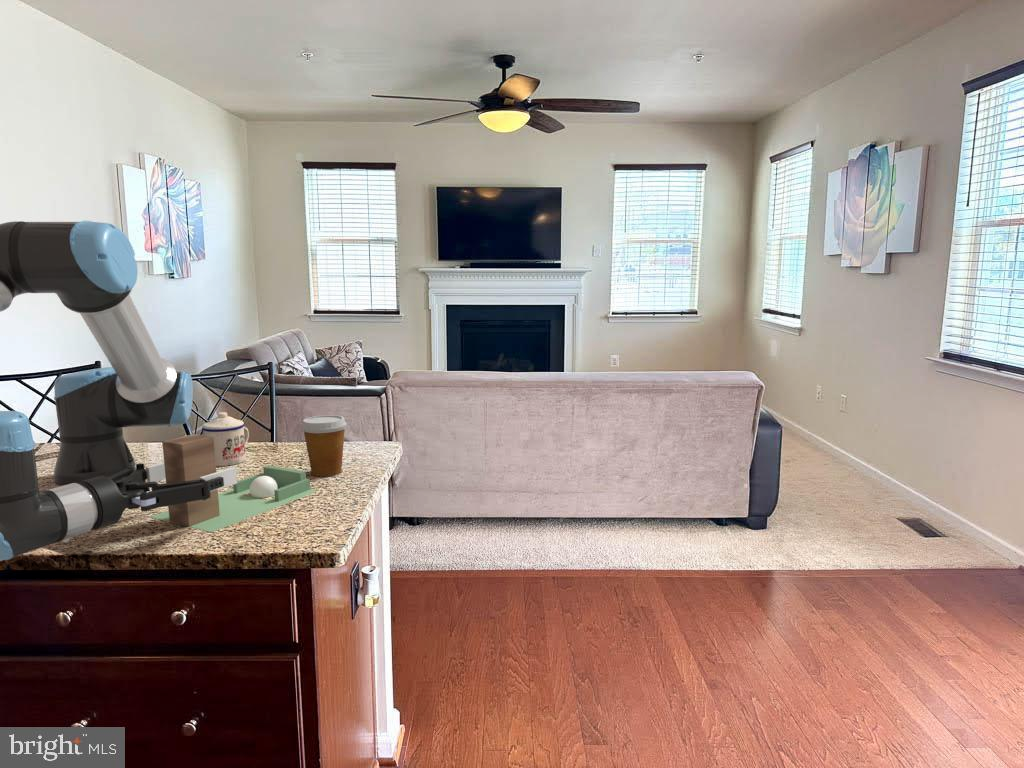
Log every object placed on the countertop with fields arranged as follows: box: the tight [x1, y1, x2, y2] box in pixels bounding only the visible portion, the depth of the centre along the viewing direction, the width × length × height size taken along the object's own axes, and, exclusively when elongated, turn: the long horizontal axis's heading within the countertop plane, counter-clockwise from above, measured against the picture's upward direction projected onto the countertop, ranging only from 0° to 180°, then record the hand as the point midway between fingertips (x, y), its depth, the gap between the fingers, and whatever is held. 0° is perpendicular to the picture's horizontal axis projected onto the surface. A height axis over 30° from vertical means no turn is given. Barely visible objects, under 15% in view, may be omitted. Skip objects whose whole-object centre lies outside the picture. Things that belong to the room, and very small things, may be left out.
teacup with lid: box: [201, 411, 250, 467], centre depth 159 cm, size 12×9×12 cm
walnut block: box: [162, 433, 220, 528], centre depth 115 cm, size 5×6×14 cm
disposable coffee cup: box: [300, 414, 347, 477], centre depth 147 cm, size 10×10×12 cm
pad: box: [149, 465, 318, 533], centre depth 124 cm, size 16×24×5 cm, turn 152°
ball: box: [249, 476, 279, 499], centre depth 129 cm, size 5×5×5 cm
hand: (208, 470), depth 118 cm, fingers open, 13 cm apart
